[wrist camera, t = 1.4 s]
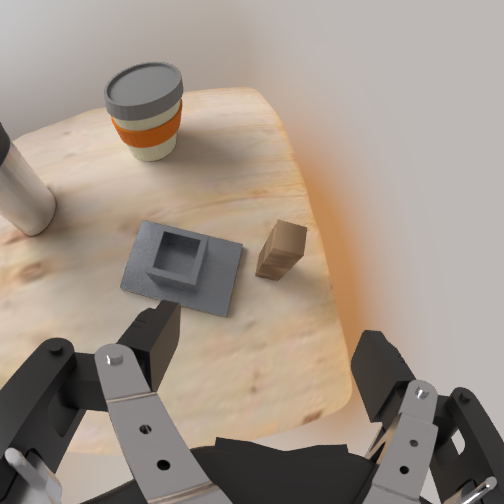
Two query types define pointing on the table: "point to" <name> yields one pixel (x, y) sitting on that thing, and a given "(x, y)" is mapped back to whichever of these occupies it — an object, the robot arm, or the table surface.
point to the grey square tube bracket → (182, 268)
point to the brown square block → (281, 250)
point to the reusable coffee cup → (146, 108)
